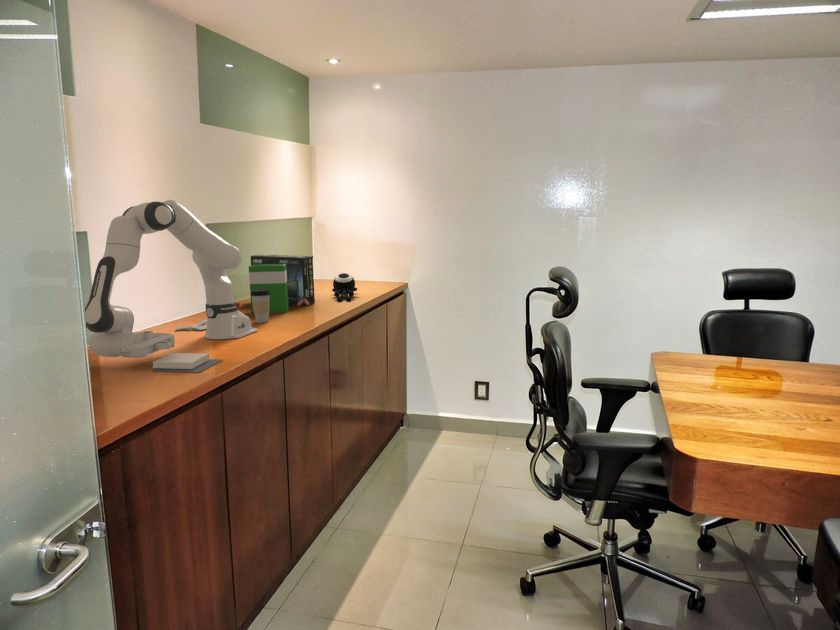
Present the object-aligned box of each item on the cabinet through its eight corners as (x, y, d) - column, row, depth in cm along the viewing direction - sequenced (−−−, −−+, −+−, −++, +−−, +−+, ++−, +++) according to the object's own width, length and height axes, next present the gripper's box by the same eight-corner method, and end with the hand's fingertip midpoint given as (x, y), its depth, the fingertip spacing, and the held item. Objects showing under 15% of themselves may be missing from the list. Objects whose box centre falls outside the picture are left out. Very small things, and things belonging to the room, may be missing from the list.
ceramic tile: (152, 361, 203) (191, 362, 201) (172, 353, 215) (208, 353, 213) (153, 368, 204) (191, 369, 202) (172, 359, 216) (209, 360, 213)
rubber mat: (152, 371, 202) (152, 370, 202) (178, 359, 217) (178, 358, 217) (199, 372, 199) (199, 371, 199) (222, 360, 215) (222, 359, 215)
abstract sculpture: (329, 291, 334) (330, 265, 361) (331, 320, 344) (332, 293, 371) (357, 290, 335) (356, 264, 363) (358, 319, 345) (357, 292, 372)
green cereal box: (251, 313, 308) (248, 266, 303) (254, 310, 315) (251, 264, 310) (286, 312, 309) (284, 265, 304) (288, 309, 316) (286, 263, 312)
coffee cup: (257, 324, 278) (255, 292, 275) (248, 321, 285) (246, 290, 282) (276, 321, 284) (274, 290, 281) (266, 319, 291) (264, 288, 288)
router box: (251, 303, 339) (248, 255, 334) (264, 300, 349) (261, 253, 344) (305, 306, 325) (302, 256, 320) (316, 303, 335) (314, 255, 330)
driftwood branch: (201, 319, 295) (201, 314, 295) (229, 319, 294) (228, 314, 294) (172, 332, 266) (172, 327, 265) (203, 332, 265) (202, 327, 264)
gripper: (115, 343, 199) (153, 343, 197) (151, 330, 219) (186, 330, 217) (117, 361, 201) (155, 362, 198) (153, 346, 220) (188, 347, 218)
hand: (172, 345), depth 208 cm, fingers closed
